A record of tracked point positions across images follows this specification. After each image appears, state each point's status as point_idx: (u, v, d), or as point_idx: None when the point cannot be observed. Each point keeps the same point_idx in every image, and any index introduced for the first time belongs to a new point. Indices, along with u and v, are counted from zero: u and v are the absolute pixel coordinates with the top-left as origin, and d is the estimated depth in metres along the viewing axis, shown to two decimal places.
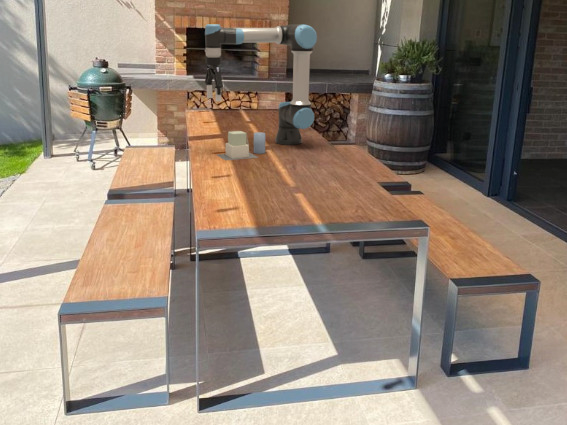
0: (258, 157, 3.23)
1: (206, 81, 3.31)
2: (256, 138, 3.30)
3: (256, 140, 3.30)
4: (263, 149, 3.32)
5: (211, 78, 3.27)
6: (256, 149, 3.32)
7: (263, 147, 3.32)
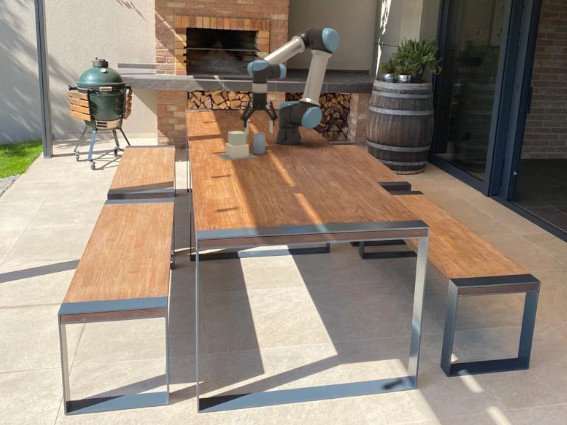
0: (258, 157, 3.23)
1: (274, 116, 3.34)
2: (256, 138, 3.30)
3: (256, 140, 3.30)
4: (263, 149, 3.32)
5: (267, 113, 3.30)
6: (256, 149, 3.32)
7: (263, 147, 3.32)
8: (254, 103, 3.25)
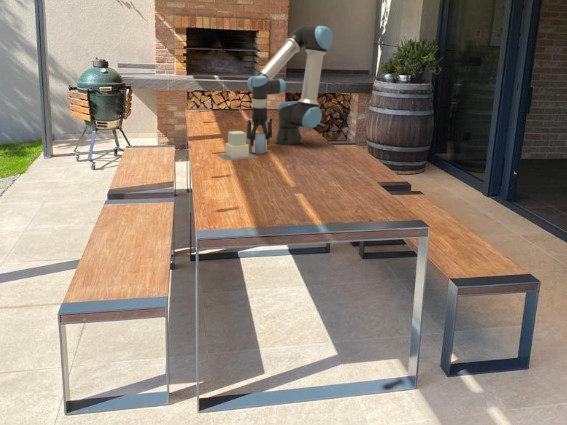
0: (258, 157, 3.23)
1: (268, 134, 3.35)
2: (256, 138, 3.30)
3: (256, 140, 3.30)
4: (263, 149, 3.32)
5: (264, 130, 3.32)
6: (256, 149, 3.32)
7: (263, 147, 3.32)
8: (254, 118, 3.27)
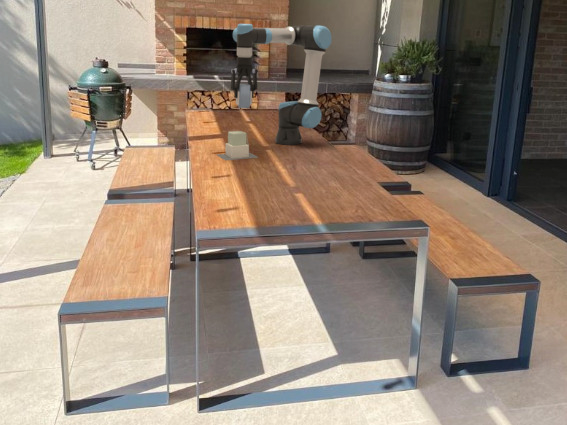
0: (258, 157, 3.23)
1: (253, 86, 3.21)
2: (240, 89, 3.16)
3: (240, 91, 3.16)
4: (248, 101, 3.18)
5: (248, 81, 3.18)
6: (240, 101, 3.17)
7: (248, 99, 3.18)
8: (238, 68, 3.13)
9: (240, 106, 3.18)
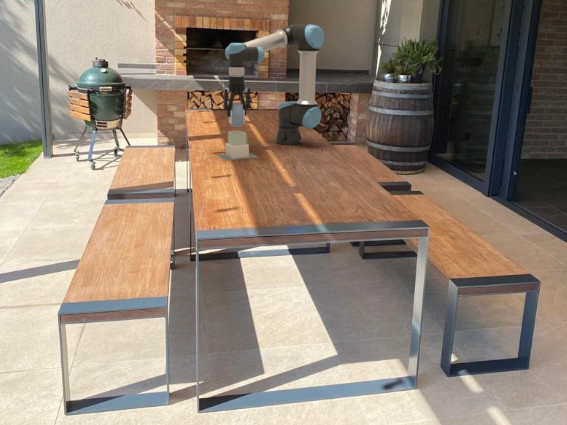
0: (258, 157, 3.23)
1: (246, 105, 3.21)
2: (233, 108, 3.16)
3: (233, 110, 3.16)
4: (240, 120, 3.18)
5: (241, 100, 3.18)
6: (233, 120, 3.17)
7: (240, 118, 3.18)
8: (231, 88, 3.13)
9: (233, 125, 3.18)
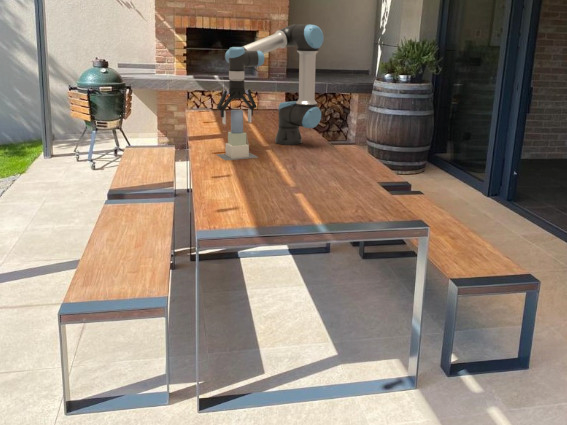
0: (258, 157, 3.23)
1: (252, 105, 3.22)
2: (233, 115, 3.17)
3: (233, 117, 3.17)
4: (241, 127, 3.19)
5: (245, 102, 3.19)
6: (233, 127, 3.18)
7: (241, 125, 3.19)
8: (231, 91, 3.14)
9: (233, 132, 3.19)
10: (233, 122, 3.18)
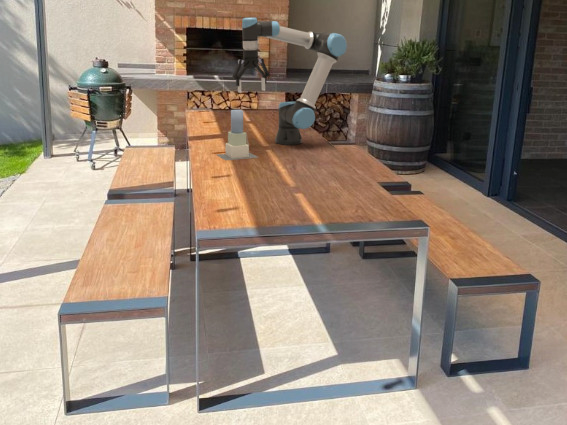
0: (258, 157, 3.23)
1: (265, 74, 3.35)
2: (233, 115, 3.17)
3: (233, 117, 3.17)
4: (241, 127, 3.19)
5: (259, 71, 3.32)
6: (233, 127, 3.18)
7: (241, 125, 3.19)
8: (245, 61, 3.26)
9: (233, 132, 3.19)
10: (233, 122, 3.18)
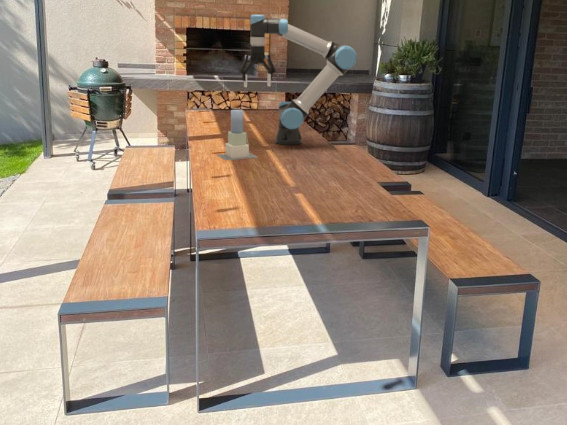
0: (258, 157, 3.23)
1: None
2: (233, 115, 3.17)
3: (233, 117, 3.17)
4: (241, 127, 3.19)
5: (265, 67, 3.41)
6: (233, 127, 3.18)
7: (241, 125, 3.19)
8: (252, 56, 3.35)
9: (233, 132, 3.19)
10: (233, 122, 3.18)
